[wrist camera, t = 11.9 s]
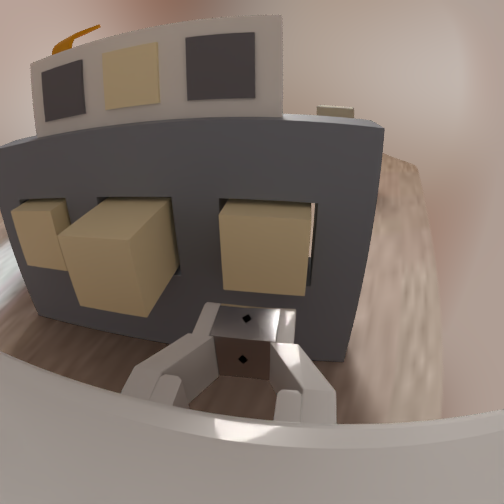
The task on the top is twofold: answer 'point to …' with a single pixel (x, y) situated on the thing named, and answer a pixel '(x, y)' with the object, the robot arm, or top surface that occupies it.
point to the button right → (265, 246)
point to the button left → (42, 231)
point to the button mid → (122, 254)
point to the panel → (196, 169)
